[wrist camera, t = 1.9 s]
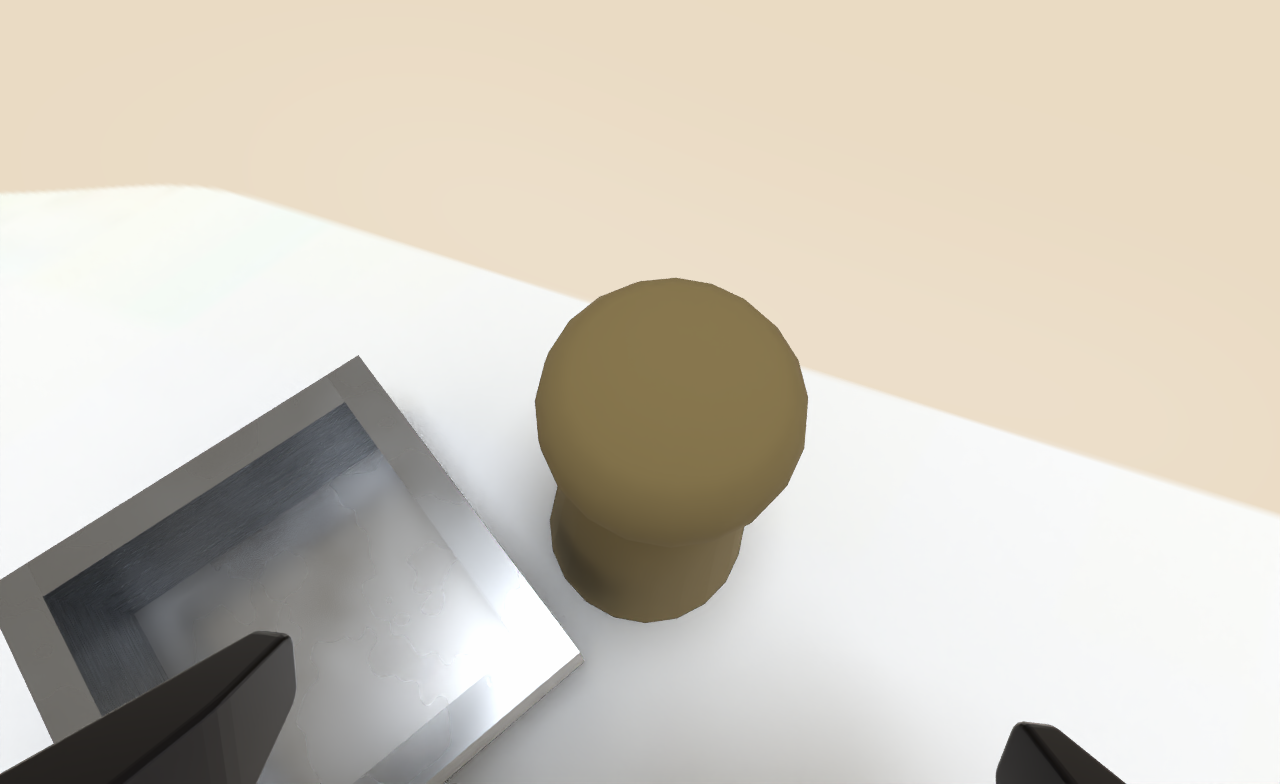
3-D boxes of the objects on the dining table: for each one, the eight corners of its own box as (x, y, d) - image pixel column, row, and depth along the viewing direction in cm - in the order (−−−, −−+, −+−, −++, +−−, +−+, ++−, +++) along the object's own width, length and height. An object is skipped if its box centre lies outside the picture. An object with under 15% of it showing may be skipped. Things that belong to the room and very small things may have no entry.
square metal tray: (584, 661, 20) (579, 652, 17) (265, 935, 17) (172, 999, 14) (398, 411, 23) (358, 355, 19) (98, 611, 20) (-18, 590, 17)
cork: (519, 583, 21) (440, 474, 11) (589, 408, 24) (577, 189, 14) (711, 652, 21) (810, 604, 11) (763, 466, 23) (884, 282, 13)
